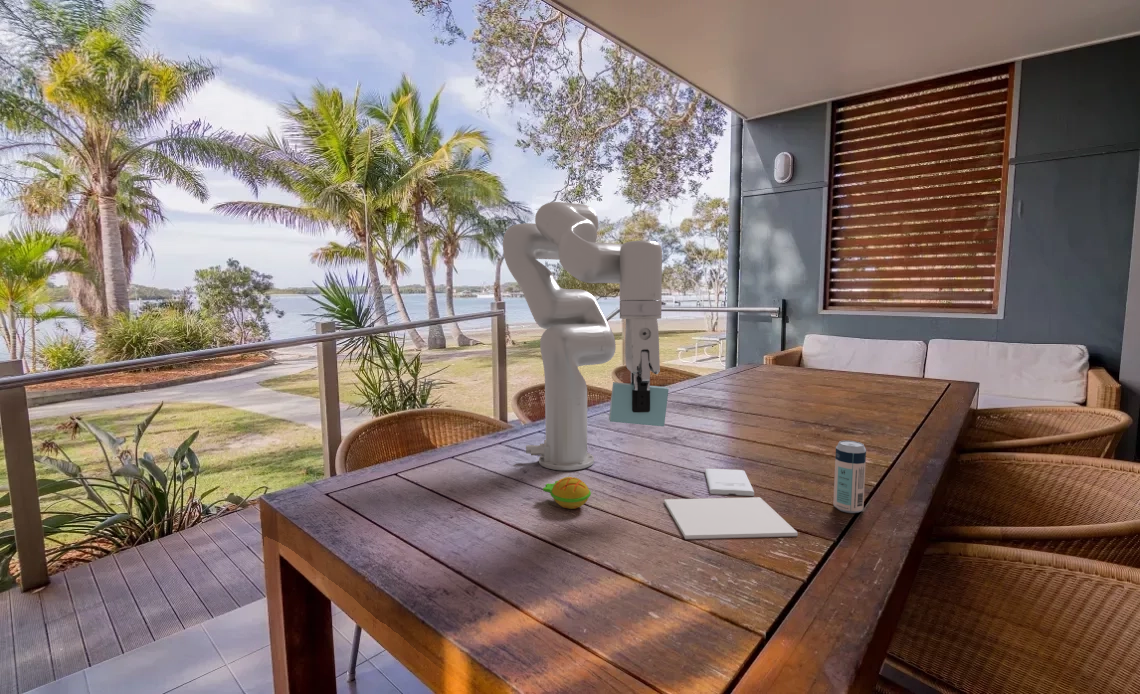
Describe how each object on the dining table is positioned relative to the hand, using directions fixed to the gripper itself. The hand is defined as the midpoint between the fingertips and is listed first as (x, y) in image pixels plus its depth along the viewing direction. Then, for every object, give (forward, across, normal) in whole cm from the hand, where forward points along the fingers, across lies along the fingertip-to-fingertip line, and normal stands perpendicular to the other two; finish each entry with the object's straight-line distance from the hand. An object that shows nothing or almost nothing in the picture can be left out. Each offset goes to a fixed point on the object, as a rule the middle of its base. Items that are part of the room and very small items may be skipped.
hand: (639, 409), depth 100 cm
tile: (+2, 0, +1) cm, 2 cm away
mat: (+17, -9, -13) cm, 24 cm away
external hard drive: (+18, +8, -20) cm, 28 cm away
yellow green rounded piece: (+17, -2, +14) cm, 22 cm away
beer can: (+17, -6, -36) cm, 41 cm away
